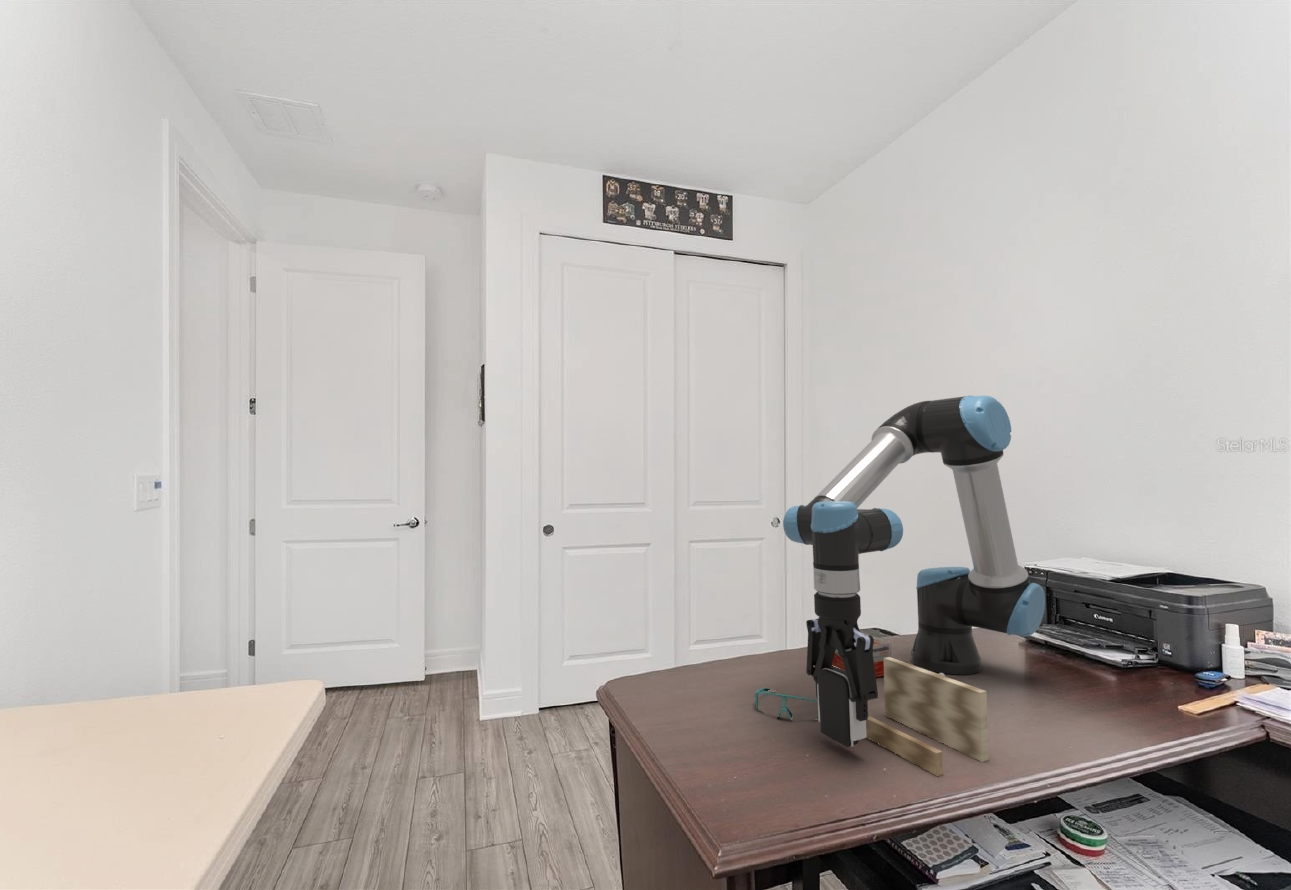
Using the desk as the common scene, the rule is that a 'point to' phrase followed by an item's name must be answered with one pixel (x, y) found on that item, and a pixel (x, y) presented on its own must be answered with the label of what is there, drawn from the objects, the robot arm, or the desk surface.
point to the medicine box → (879, 653)
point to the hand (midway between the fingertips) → (841, 728)
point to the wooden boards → (930, 715)
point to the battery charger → (835, 705)
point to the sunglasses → (782, 700)
